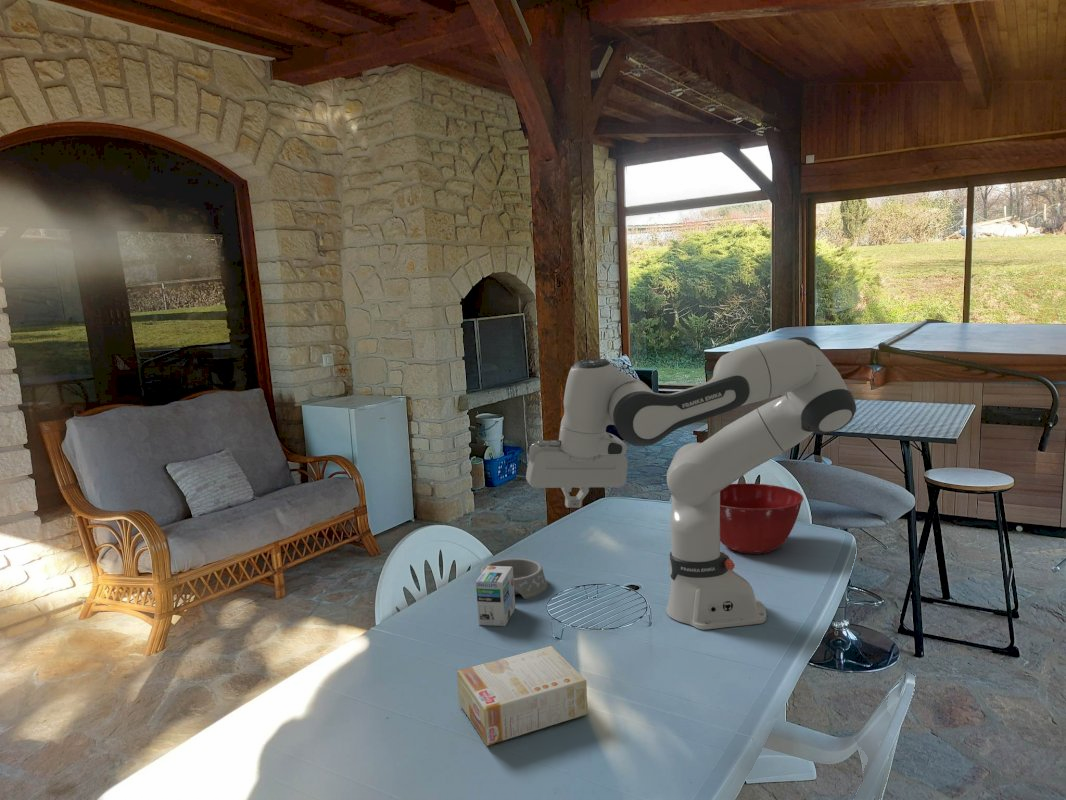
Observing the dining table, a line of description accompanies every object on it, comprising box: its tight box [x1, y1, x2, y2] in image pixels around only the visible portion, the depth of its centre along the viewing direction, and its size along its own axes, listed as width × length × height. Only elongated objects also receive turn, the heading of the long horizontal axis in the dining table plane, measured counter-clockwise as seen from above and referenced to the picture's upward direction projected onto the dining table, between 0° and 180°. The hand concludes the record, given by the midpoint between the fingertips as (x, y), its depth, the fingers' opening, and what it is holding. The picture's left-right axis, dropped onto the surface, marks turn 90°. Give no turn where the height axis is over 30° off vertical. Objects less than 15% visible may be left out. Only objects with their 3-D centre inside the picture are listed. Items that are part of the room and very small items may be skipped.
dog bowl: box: [479, 557, 548, 600], centre depth 193 cm, size 17×18×5 cm
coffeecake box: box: [456, 645, 589, 747], centre depth 134 cm, size 15×7×20 cm
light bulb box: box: [475, 566, 516, 627], centre depth 175 cm, size 11×7×11 cm, turn 168°
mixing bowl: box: [720, 483, 804, 555], centre depth 213 cm, size 28×28×16 cm
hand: (572, 506), depth 147 cm, fingers closed
